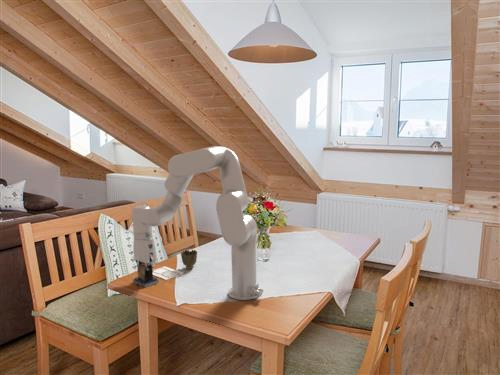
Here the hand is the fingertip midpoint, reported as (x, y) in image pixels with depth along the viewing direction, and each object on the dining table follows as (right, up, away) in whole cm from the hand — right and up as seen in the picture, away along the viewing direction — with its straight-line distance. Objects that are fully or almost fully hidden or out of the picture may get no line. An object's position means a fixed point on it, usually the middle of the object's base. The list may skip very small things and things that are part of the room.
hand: (145, 276), depth 179 cm
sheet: (+6, -1, +11) cm, 12 cm away
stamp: (0, -1, 0) cm, 1 cm away
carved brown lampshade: (+17, 0, +16) cm, 23 cm away
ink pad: (0, -3, 0) cm, 3 cm away
